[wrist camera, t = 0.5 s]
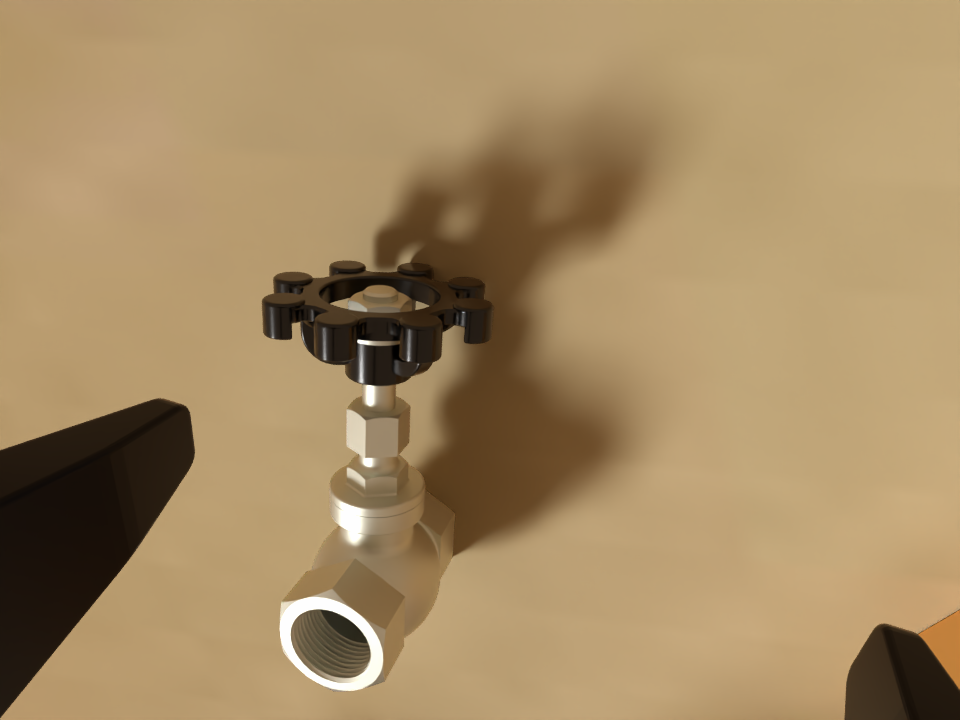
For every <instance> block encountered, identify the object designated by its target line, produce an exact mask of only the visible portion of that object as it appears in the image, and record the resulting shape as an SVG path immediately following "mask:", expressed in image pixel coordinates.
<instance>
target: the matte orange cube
mask: <svg viewBox="0 0 960 720" xmlns="http://www.w3.org/2000/svg"><path fill="white" fill-rule="evenodd" d="M918 635H919V636H920V637H922V638H923V640H924V641H925V642H926V643H927V645H928V646H929V648H930V649H931V650H932V652H933V653H934V654H935V656H936V657H937V659H938V660H939V661H940V663H941V664H942V666H943V667H944V668H945V670H946V671H947V673H948V674H949V675H950V677H951V678H952V679H953V681H954V682H955V684H956V685H957V686H958V688H959V689H960V610H959V611H957V612H956V613H954V614H952V615H950V616H949V617H947V618H945V619H944V620H942V621H940V622H938V623H937V624H935V625H933V626H932V627H930V628H928V629H926V630H925V631H923V632H921V633H920V634H918Z"/></svg>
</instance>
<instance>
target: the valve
mask: <svg viewBox="0 0 960 720" xmlns="http://www.w3.org/2000/svg"><path fill="white" fill-rule="evenodd" d="M273 285H274V294H270V295H268V296H266V297H264V298H263V299H262V316H263V333H264V335H265V336H267V337H269V338H272V339H277V340H290V339H291V338H292V323H297V322H300V326H301V336H302V340H303V342H304V345H305V346H306V348H307V350H308V351H309V352H310V353H311V354H312V355H313V356H314V357H316V358H317V359H319V360H320V361H322V362H325V363H328V364H333V365H345V373H346V375H347V376H348V378H349V379H351V380H353V381H354V382H357V383H360V384H362V396H361V397H358V398H356V399H355V400H354V401H353V402H352V403H351V404H350V405H349V406H348V408H347V447H349V448H350V449H352V450H353V451H355V452H356V453H358V455H356V456H355V457H354V458H353V459H352V461H351V462H350V463H349V465H346V466H345V467H343V468H341V469H339V470H338V471H337V472H336V473H335V474H334V475H333V477H332V478H331V480H330V485H329V492H330V514H331V516H332V518H333V520H334V521H335V522H336V523H337V524H338V525H339V526H338V527H337V528H336V529H335V530H333V531H332V533H331V534H330V535H329V536H328V537H327V538H326V540H325V541H324V542H323V544H322V545H321V547H320V549H319V551H318V553H317V555H316V557H315V559H314V563H313V566H312V570H311V571H307V572H306V573H305V574H304V575H303V576H302V578H301V579H300V580H299V581H298V583H297V584H296V585H295V586H294V587H293V589H292V590H291V591H290V592H289V593H288V595H287V596H286V597H285V598H284V600H283V601H282V602H281V612H280V636H281V644H282V649H283V652H284V654H285V655H286V656H287V657H288V659H289V660H290V661H291V662H292V663H293V664H294V665H295V666H296V667H297V668H298V669H299V670H300V671H302V672H303V673H304V674H305V675H306V676H308V677H309V678H311V679H312V680H314V681H315V682H317V683H318V684H320V685H322V686H324V687H326V688H328V689H330V690H332V691H338V692H342V691H352V690H359V689H362V688H366V687H370V686H373V685H376V684H379V683H382V682H384V681H385V680H386V678H387V676H388V674H389V673H390V671H391V669H392V667H393V665H394V663H395V662H396V660H397V658H398V656H399V654H400V652H401V651H402V649H403V647H404V638H405V637H406V636H408V635H410V634H411V633H412V632H413V631H414V630H416V629H417V628H418V627H419V626H420V625H421V624H422V623H423V621H424V620H425V619H426V617H427V616H428V614H429V612H430V611H431V609H432V607H433V605H434V603H435V600H436V597H437V595H438V591H439V585H440V579H441V577H442V575H443V574H444V572H445V570H446V568H447V566H448V565H449V563H450V561H451V559H452V556H453V544H454V527H455V513H454V512H453V511H452V510H451V509H450V508H449V507H447V506H446V505H445V504H443V503H442V502H441V501H439V500H438V499H437V498H435V497H434V496H433V495H431V494H430V493H429V492H428V491H426V490H425V480H424V478H423V476H422V474H421V473H420V472H419V471H418V470H416V469H415V468H414V467H412V466H410V465H409V463H408V462H407V461H406V460H405V459H404V458H402V457H401V456H400V455H399V454H400V453H401V452H402V451H403V449H404V448H405V447H406V446H407V445H408V443H409V433H410V405H409V404H408V403H406V402H405V401H404V400H402V399H401V398H399V397H396V384H400V383H403V382H405V381H407V380H408V379H409V378H411V376H415V375H418V374H422V373H424V372H425V371H427V370H428V369H429V368H430V366H431V365H432V363H433V362H435V361H437V360H439V359H440V358H441V353H442V334H443V332H444V331H446V330H448V329H450V328H451V327H453V326H454V325H457V326H461V327H465V335H464V342H465V343H469V344H480V343H485V342H487V341H489V340H490V339H491V337H492V324H493V310H494V307H493V305H492V303H490V302H489V301H486V300H484V294H485V284H484V282H483V281H481V280H479V279H475V278H469V277H457V278H453V279H451V280H449V281H448V282H439V281H435V280H433V269H432V267H431V266H429V265H426V264H420V263H405V264H401V265H399V266H398V268H397V272H370V271H366V266H365V265H364V264H363V263H360V262H356V261H337V262H334V263H332V264H330V266H329V277H325V278H312V276H311V275H309V274H306V273H302V272H284V273H280V274H277V275H276V276H275V277H274V278H273ZM346 298H350V299H349V300H348V309H344V308H340V307H337V306H334V305H331V304H330V303H332V302H335V301H338V300H342V299H346ZM416 301H419V302H422V303H425V304H427V305H429V307H426V308H423V309H419V310H415V307H416Z"/></svg>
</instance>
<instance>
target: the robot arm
mask: <svg viewBox="0 0 960 720" xmlns="http://www.w3.org/2000/svg"><path fill="white" fill-rule="evenodd" d="M194 454H195V447H194V439H193V431H192V424H191V416H190V412H189V410H188V408H187V407H186V406H184V405H182V404H179V403H176V402H173V401H170V400H166V399H161V398H158V399H153V400H150V401H147V402H144V403H141V404H138V405H135V406H132V407H129V408H126V409H123V410H120V411H117V412H114V413H111V414H108V415H105V416H102V417H99V418H96V419H93V420H90V421H87V422H84V423H81V424H78V425H75V426H72V427H69V428H66V429H63V430H60V431H57V432H54V433H51V434H48V435H45V436H42V437H39V438H36V439H33V440H30V441H27V442H24V443H21V444H18V445H15V446H12V447H9V448H6V449H3V450H0V718H1V716H2V715H3V714H4V713H5V712H6V710H7V709H8V708H9V707H10V705H11V704H12V703H13V702H14V701H15V699H16V698H17V697H18V696H19V694H20V693H21V692H22V691H23V690H24V688H25V687H26V686H27V685H28V683H29V682H30V681H31V680H32V678H33V677H34V676H35V675H36V674H37V672H38V671H39V670H40V669H41V667H42V666H43V665H44V664H45V663H46V661H47V660H48V659H49V658H50V656H51V655H52V654H53V653H54V652H55V650H56V649H57V648H58V647H59V645H60V644H61V643H62V642H63V641H64V639H65V638H66V637H67V636H68V634H69V633H70V632H71V631H72V629H73V628H74V627H75V626H76V625H77V623H78V622H79V621H80V620H81V618H82V617H83V616H84V615H85V614H86V612H87V611H88V610H89V609H90V607H91V606H92V605H93V604H94V603H95V601H96V600H97V599H98V598H99V596H100V595H101V594H102V593H103V591H104V590H105V589H106V588H107V587H108V585H109V584H110V583H111V582H112V580H113V579H114V578H115V577H116V576H117V574H118V573H119V572H120V571H121V569H122V568H123V567H124V565H125V564H126V563H127V562H128V560H129V559H130V558H131V556H132V555H133V554H134V552H135V551H136V549H137V548H138V546H139V545H140V544H141V542H142V541H143V539H144V538H145V536H146V535H147V533H148V532H149V530H150V528H151V527H152V525H153V524H154V522H155V521H156V519H157V518H158V516H159V515H160V513H161V512H162V510H163V509H164V507H165V506H166V504H167V503H168V501H169V500H170V498H171V497H172V495H173V494H174V492H175V491H176V489H177V487H178V486H179V484H180V483H181V481H182V480H183V478H184V477H185V475H186V474H187V472H188V471H189V469H190V467H191V465H192V463H193V460H194ZM845 720H960V689H959V688H958V686H957V685H956V684H955V682H954V681H953V679H952V678H951V677H950V675H949V674H948V673H947V671H946V670H945V668H944V667H943V666H942V664H941V663H940V661H939V660H938V659H937V657H936V656H935V654H934V653H933V652H932V650H931V649H930V648H929V646H928V645H927V643H926V642H925V641H924V640H923V638H922V637H920V636H919V635H918V634H916V633H914V632H911V631H908V630H905V629H902V628H899V627H895V626H892V625H889V624H879V625H878V626H876V627H875V628H874V630H873V631H872V633H871V634H870V636H869V638H868V639H867V641H866V642H865V644H864V646H863V647H862V649H861V650H860V652H859V654H858V655H857V657H856V659H855V660H854V662H853V663H852V665H851V668H850V670H849V673H848V677H847V683H846V701H845Z"/></svg>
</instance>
